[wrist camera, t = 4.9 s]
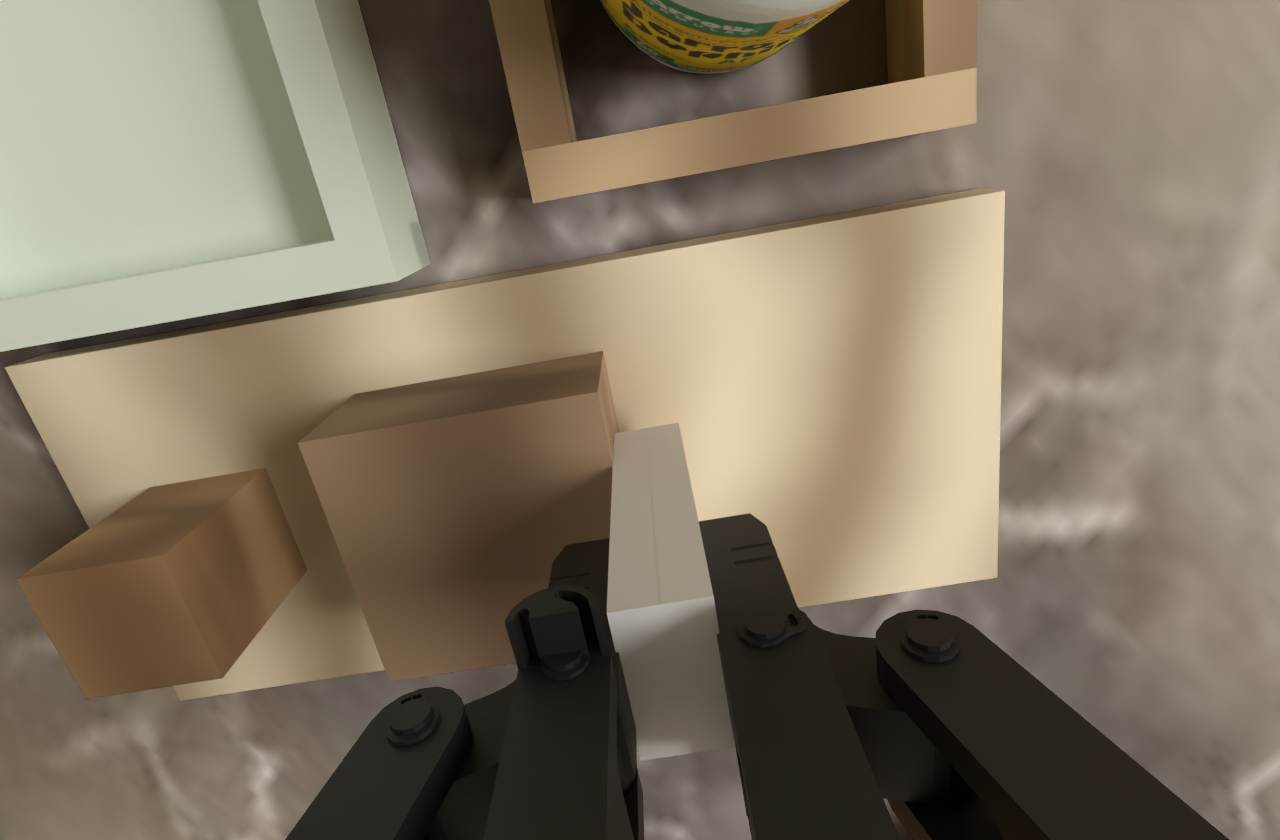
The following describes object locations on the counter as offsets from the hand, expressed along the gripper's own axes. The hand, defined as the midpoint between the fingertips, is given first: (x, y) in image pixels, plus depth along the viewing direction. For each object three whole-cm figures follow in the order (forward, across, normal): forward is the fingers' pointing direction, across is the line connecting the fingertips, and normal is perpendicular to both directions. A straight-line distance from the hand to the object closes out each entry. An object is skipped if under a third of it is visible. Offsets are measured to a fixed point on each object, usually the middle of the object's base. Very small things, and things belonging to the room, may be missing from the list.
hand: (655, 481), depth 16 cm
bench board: (+3, -3, 0) cm, 4 cm away
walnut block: (+1, -4, 0) cm, 4 cm away
